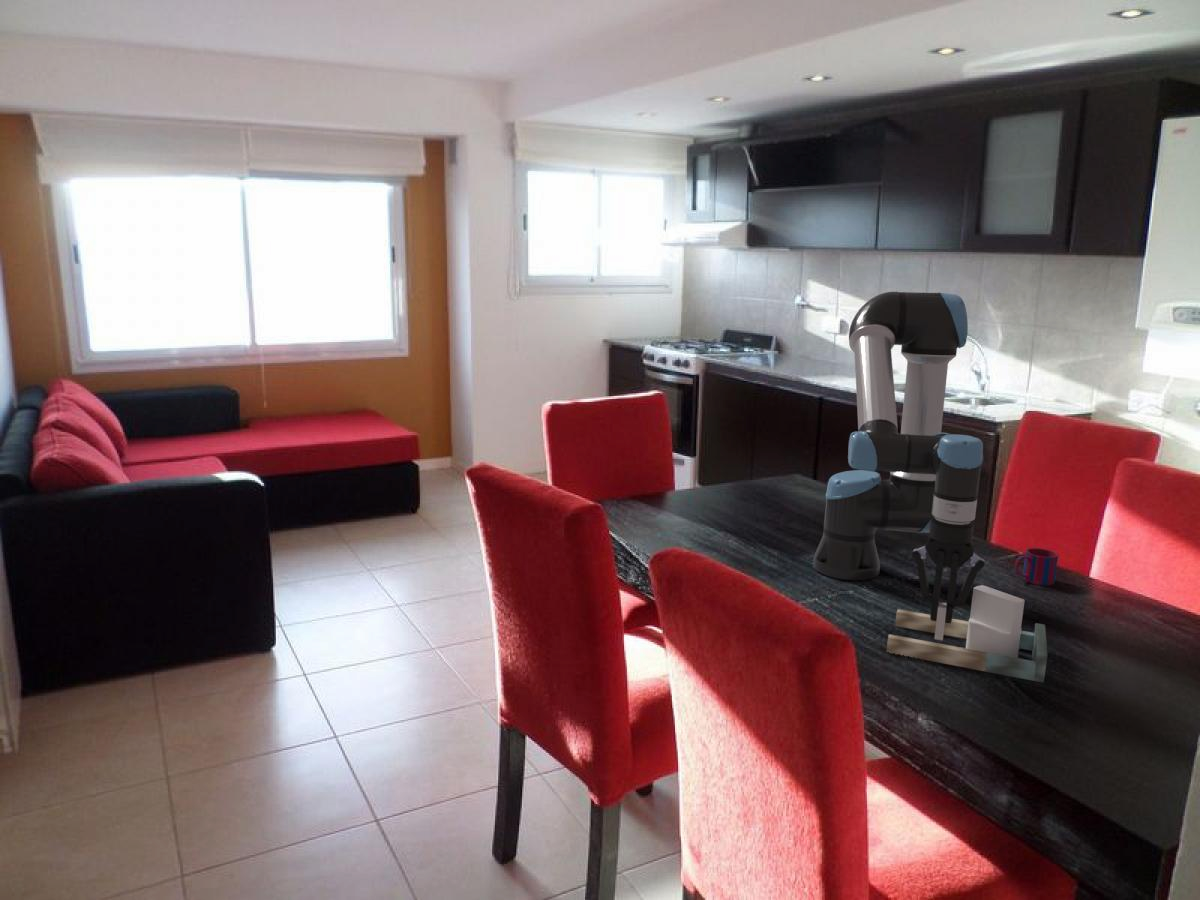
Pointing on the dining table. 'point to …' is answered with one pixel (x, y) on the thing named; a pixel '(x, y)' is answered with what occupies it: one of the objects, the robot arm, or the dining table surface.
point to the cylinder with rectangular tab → (995, 622)
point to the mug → (1038, 566)
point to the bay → (967, 656)
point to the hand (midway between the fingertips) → (938, 636)
